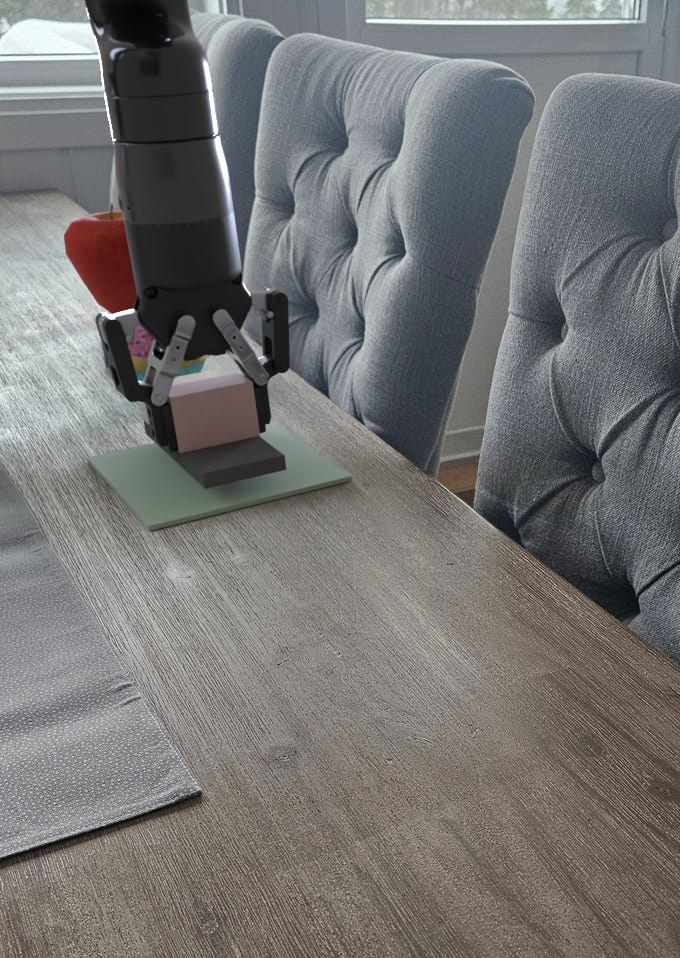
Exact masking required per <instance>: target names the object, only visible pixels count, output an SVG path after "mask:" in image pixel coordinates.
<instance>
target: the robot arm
mask: <svg viewBox="0 0 680 958" xmlns="http://www.w3.org/2000/svg"><path fill="white" fill-rule="evenodd" d="M83 4H84V6H85V9H86V13H87V17H88V21H89V24H90V28H91V30H92V34H93V37H94V40H95V44H96V47H97V52H98V57H99V63H100V71H101V82H102V87H103V93H104V100H105V105H106V111H107V117H108V121H109V125H110V126H109V127H110V132H111V133H110V134H111V137H112V144H113V145H112V146H113V153H114V154H113V155H114V174H115V180H116V187H117V192H118V193H117V202H118V206H119V210H120V211H121V212H122V215H123V220H124V225H125V231H126V236H127V242H128V247H129V253H130V258H131V264H132V269H133V275H134V280H135V285H136V291H137V295H136V301H135V304H134V307H133V309H132V310H128V311H124V312H120V313H117V314H111V313H110V312H108V311H101V312H99V313H98V314H96V316H95V320H94V321H95V325H96V328H97V331H98V335H99V337H100V338H99V339H100V343H101V342H102V343H101V346H102V345H103V348H104V351H105V355H106V358H107V361H108V364H109V368H110V371H111V374H112V375H111V377H112V380H113V384H114V387H115V389H116V391H117V392H118V393H119V394H120V395H122V397H124V398H125V399H126V400H127V401H129V402H131V403H136V402H144V403H145V405H146V410H147V415H148V420H149V426H150V431H151V436H152V437H153V439H154V440H155V442H156V443H157V444H158V445H160V446H161V447H163V448H164V449H165V450H166V451H167V452H168V453H172V452H176V451H178V444H177V438H176V432H175V427H174V421H173V415H172V410H171V405H170V404H169V403H168V402H167V399H168V396H169V393H170V390H171V386H172V383H173V380H174V378H176V377H177V375H178V373H179V370H180V367H181V364H182V361H183V360H184V361H190V360H196V359H198V358H200V357H202V356H204V355H210V356H215V357H216V356H222V355H226V354H227V355H228V356H229V357H230V358H231V359H232V360H233V362H234V363H235V365H236V366H237V368H238V370H240V372H241V374H242V375H243V376H245V377H246V378H248V379H249V380H251V381H252V382H253V388H254V395H255V402H256V410H257V417H258V424H259V432H260V433H264V432H266V424H270V420H271V419H272V411H271V404H270V397H269V396H270V395H269V389H268V383H269V381H270V380H271V379H272V378H274V377H275V376H277V375H278V374H285V373H287V372H288V371H289V370H290V368H291V367H290V366H291V360H290V359H291V355H290V354H291V353H290V319H289V318H290V315H289V314H290V313H289V297H288V295H287V294H286V293H285V292H282V290H279V289H278V288H276V287H272V286H269V285H267V286H266V285H265V286H264V287H263V288H262V289H260V290H249V289H248V288H247V286H246V285H245V282H244V279H243V269H242V267H243V266H242V260H241V253H240V247H239V246H240V245H239V238H238V230H237V224H236V217H235V207H234V201H233V194H232V193H233V192H232V186H231V180H230V179H231V178H230V173H229V167H228V163H227V159H226V155H225V152H224V151H225V150H224V148H223V143H222V139H221V134H220V126H219V125H220V124H219V117H218V110H217V103H216V96H215V89H214V83H213V76H212V71H211V67H210V62H209V58H208V56H207V53H206V51H205V49H204V46H203V45H202V43H201V42H200V41H199V39H198V38H197V35H196V33H195V31H194V28H193V23H192V17H191V11H190V5H189V0H83ZM252 307H253V311H254V314H255V316H256V317H257V318H259V319H261V342H262V343H261V344H262V355H261V356H260V357H259V358H258V357H257V354H256V352H255V350H254V349H253V348H252V346H251V345H250V344H249V342H248V341H247V339H246V338H245V335H243V334H242V332H241V329H242V327H243V325H244V323H245V321H246V319H247V317H248V315H249V313H250V311H251V308H252ZM138 325H141V326H142V327H143V328H144V329H145V330H146V331H147V332H148V333H149V334H150V335H151V336H152V337H153V338H154V340H153V343H152V346H151V349H150V353H149V356H148V367H147V371H146V374H145V377H144V380H143V381H138V378H137V375H136V371H135V368H134V365H133V361H132V358H131V354H130V351H129V348H128V345H130V344H131V343H132V342H133V341H134V330H135V328H136V327H137V326H138ZM160 349H161V350H160ZM173 358H174V359H173ZM155 442H154V443H155Z"/></svg>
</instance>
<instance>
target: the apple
mask: <svg viewBox="0 0 680 958" xmlns="http://www.w3.org/2000/svg"><path fill="white" fill-rule="evenodd" d="M63 241H64V250H65V251H64V252H65V255H66V257H67V259H68V260H69V262H70V263H71V265H72V267H73V268H74V270H75V271H76V273H77V275H78V276H79V278H80V279H81V281H82V283H83V284H84V286H85V287H86V288H87V290H88V291H89V293H90V294H91V296H92V297H93V299H94V300H95V302H96V303H97V305H99V306H100V307H102V308H103V309H105V310H106V311H107V312H108V313H109V314H111V315H113V314H117V313H120V312H124V311H128V310H132V309H133V307H134V304H135V301H136V295H137V291H136V285H135V280H134V275H133V269H132V264H131V258H130V253H129V247H128V242H127V236H126V231H125V225H124V220H123V215H122V212H121V210H114V205H113V204H112V202H110V207H109V211H102V212H96V213H90V214H86V215H83V216H80V217H76V218H73V219H71V222H70V223H69V225H68V227H67V228H66V230H65V232H64V234H63Z"/></svg>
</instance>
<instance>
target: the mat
mask: <svg viewBox="0 0 680 958" xmlns="http://www.w3.org/2000/svg"><path fill="white" fill-rule="evenodd" d="M260 437H261V438H262V439H264V440H265V441H266V442H268V443H269V444H270V445H272V446H273V447H274V448H276V449H277V450H278V451H280V452H281V453H282V454H284V455H285V461H286V470H283V471H279V472H275V473H271V474H266V475H262V476H258V477H254V478H249V479H245V480H241V481H237V482H232V483H228V484H224V485H220V486H215V487H211V488H207V489H205V488H204V487H203V486H202V485H201V484H200V483H198V482H197V481H196V480H195V479H194V478H193V477H192V476H191V475H190V474H189V473H188V472H187V471H186V470H184V469H183V468H182V467H181V466H180V465H179V464H178V463H177V462H176V461H175V460H174V459H173V458H171V457H170V456H169V455H168V454H167V453H166V452H165V451H164V450H163V449H162V448H161V447H160V446H159V445H157V444H156V443H155V442H153V443H148V444H143V445H139V446H134V447H130V448H124V449H119V450H115V451H111V452H106V453H102V454H97V455H92V456H88V457H86V461H87V463H88V464H89V465H90V466H91V467H92V468H93V470H94V471H95V472H96V473H97V474H98V475H99V477H101V478H102V480H103V481H104V482H105V483H106V484H107V485H108V487H110V489H111V490H112V491H113V492H114V493H115V494H116V496H117V497H118V498H119V499H120V500H121V501H122V502H123V503H124V505H125V506H127V508H129V510H130V511H131V512H132V513H133V514H134V516H135V517H136V518H137V519H138V520H139V521H140V523H142V525H144V527H145V528H146V529H147V530H148V531H149V532H152V531H155V530H160V529H164V528H167V527H171V526H176V525H180V524H184V523H188V522H193V521H196V520H199V519H200V520H201V519H205V518H207V517H212V516H216V515H220V514H225V513H228V512H232V511H236V510H240V509H244V508H248V507H252V506H255V505H260V504H264V503H268V502H272V501H276V500H280V499H284V498H289V497H293V496H296V495H300V494H303V493H308V492H312V491H316V490H320V489H324V488H329V487H332V486H335V485H336V486H337V485H340V484H344V483H348V482H352V481H353V476H352V474H350V473H349V472H347V471H345V470H344V469H342V468H341V467H340V466H339V465H337V464H336V463H334V462H333V461H332V460H330V459H329V458H327V456H324V455H323V454H322V453H320V451H319V452H318V451H317V450H316V449H314V448H313V447H311V446H310V445H309V444H308V443H306V442H305V441H303V440H302V439H300V438H299V436H296V435H295V434H293V433H292V432H291V431H289V430H288V429H286V428H285V427H284V426H282V425H281V424H279V423H278V422H276V421H275V420H274V419H272V418H271V420H270V424H266V432H264V433H260Z"/></svg>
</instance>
